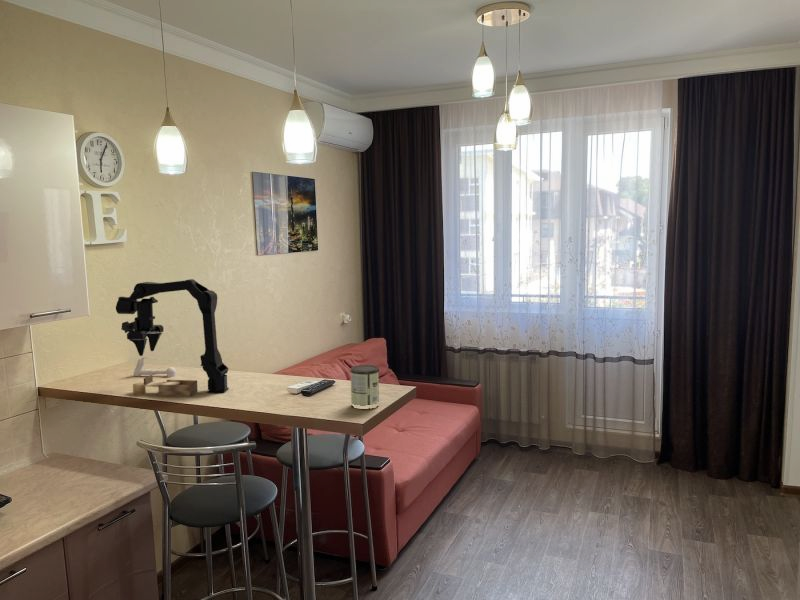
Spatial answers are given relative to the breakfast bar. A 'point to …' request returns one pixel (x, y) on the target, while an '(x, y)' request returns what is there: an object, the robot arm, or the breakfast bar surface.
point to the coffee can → (364, 385)
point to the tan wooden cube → (139, 388)
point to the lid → (156, 382)
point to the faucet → (140, 371)
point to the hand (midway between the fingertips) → (146, 353)
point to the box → (178, 388)
